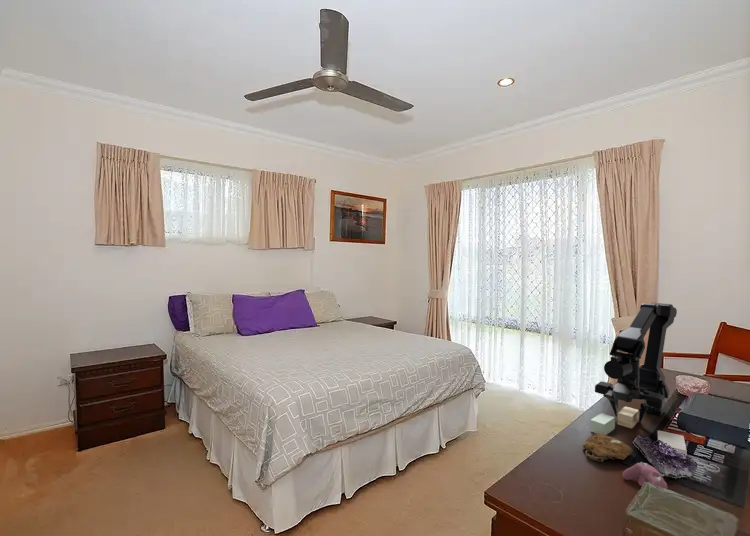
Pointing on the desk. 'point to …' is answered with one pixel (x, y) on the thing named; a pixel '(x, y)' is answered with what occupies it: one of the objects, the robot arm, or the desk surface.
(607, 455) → the decorative rock
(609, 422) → the sage brick
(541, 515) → the desk surface
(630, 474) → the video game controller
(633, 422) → the birch brick
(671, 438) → the white brick
